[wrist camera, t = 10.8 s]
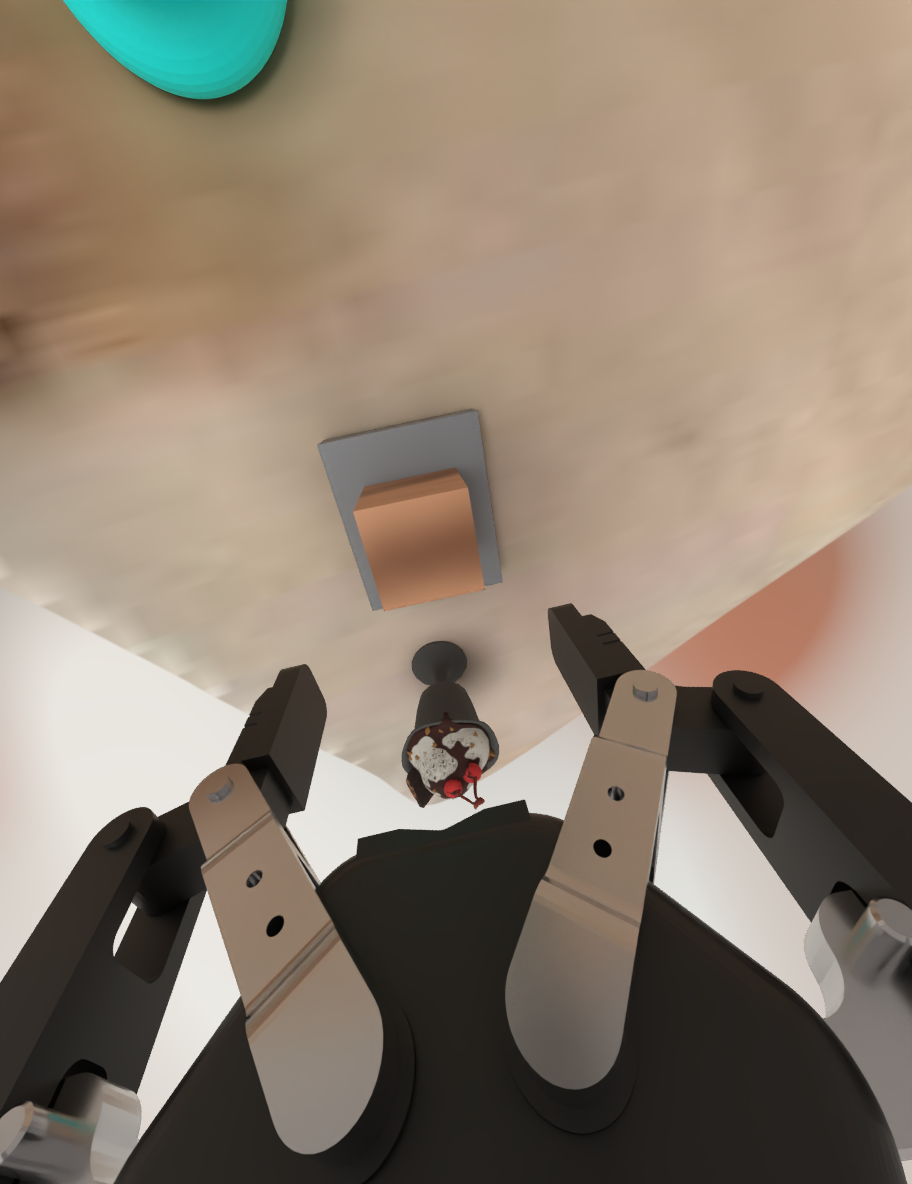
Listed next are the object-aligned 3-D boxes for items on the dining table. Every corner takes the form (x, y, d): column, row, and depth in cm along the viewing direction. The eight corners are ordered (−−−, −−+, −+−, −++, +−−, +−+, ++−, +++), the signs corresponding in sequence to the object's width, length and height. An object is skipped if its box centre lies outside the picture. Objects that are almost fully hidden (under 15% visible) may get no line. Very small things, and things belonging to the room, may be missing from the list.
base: (325, 439, 27) (316, 444, 24) (470, 408, 27) (477, 410, 24) (375, 592, 32) (372, 610, 30) (494, 566, 32) (502, 582, 30)
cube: (364, 486, 25) (352, 511, 20) (455, 467, 26) (467, 487, 20) (388, 569, 28) (383, 611, 23) (470, 552, 28) (485, 589, 23)
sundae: (476, 629, 34) (521, 781, 21) (474, 689, 37) (512, 854, 24) (400, 634, 34) (397, 793, 20) (404, 694, 37) (404, 866, 24)
